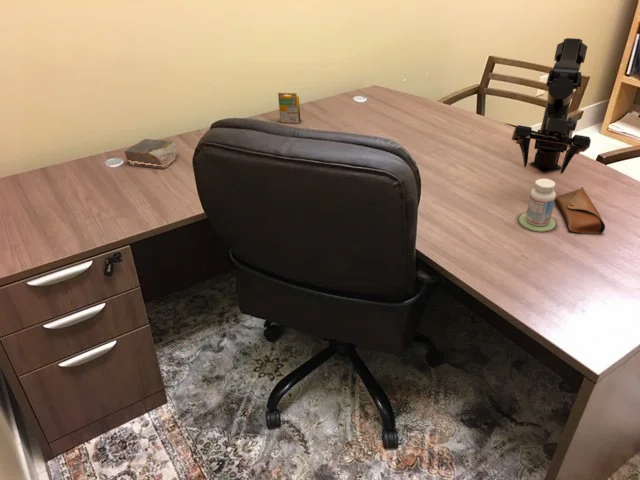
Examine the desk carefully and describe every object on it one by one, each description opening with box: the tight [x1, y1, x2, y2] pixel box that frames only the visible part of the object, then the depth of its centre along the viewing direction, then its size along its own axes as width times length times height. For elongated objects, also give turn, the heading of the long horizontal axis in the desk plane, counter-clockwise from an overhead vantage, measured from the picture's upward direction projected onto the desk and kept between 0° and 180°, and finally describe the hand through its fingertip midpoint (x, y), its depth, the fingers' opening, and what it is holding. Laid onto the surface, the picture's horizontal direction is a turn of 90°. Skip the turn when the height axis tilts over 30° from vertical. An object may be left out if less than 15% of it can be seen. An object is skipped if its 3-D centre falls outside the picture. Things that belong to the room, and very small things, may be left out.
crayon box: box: [277, 92, 301, 124], centre depth 201 cm, size 7×3×12 cm, turn 77°
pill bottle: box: [525, 178, 557, 226], centre depth 136 cm, size 6×6×11 cm
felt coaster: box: [518, 212, 557, 233], centre depth 140 cm, size 9×9×1 cm
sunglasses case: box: [555, 186, 606, 235], centre depth 141 cm, size 18×7×7 cm, turn 175°
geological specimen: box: [123, 138, 178, 170], centre depth 180 cm, size 11×6×15 cm
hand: (543, 170), depth 141 cm, fingers open, 9 cm apart
